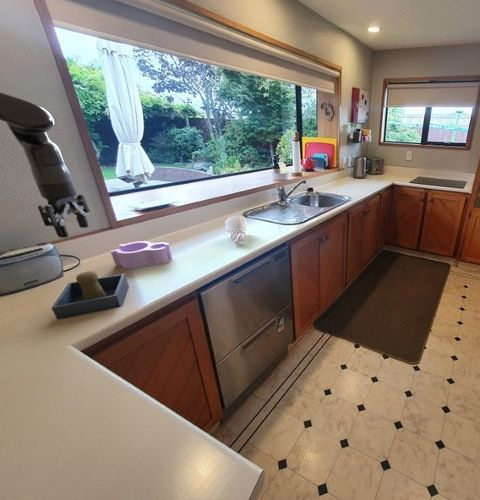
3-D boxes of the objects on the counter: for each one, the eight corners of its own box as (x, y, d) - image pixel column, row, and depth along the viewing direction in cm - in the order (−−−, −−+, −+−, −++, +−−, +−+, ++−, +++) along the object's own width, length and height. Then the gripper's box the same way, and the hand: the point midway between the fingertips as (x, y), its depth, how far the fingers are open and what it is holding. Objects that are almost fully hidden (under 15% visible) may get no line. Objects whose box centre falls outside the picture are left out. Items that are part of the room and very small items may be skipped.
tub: (58, 322, 86) (51, 308, 84) (74, 296, 98) (68, 282, 96) (121, 309, 93) (116, 295, 90) (129, 286, 105) (124, 273, 103)
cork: (85, 309, 91) (72, 280, 87) (84, 300, 95) (72, 272, 91) (108, 302, 95) (97, 274, 90) (107, 294, 99) (96, 267, 94)
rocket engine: (239, 229, 136) (235, 211, 148) (222, 244, 137) (220, 225, 149) (257, 242, 144) (252, 223, 156) (240, 256, 145) (236, 236, 157)
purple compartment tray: (175, 253, 131) (172, 240, 128) (165, 266, 120) (161, 251, 117) (127, 255, 127) (122, 241, 124) (111, 269, 116) (106, 254, 113)
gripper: (59, 175, 88) (78, 224, 94) (16, 185, 75) (41, 241, 82) (85, 176, 89) (102, 224, 95) (48, 185, 76) (70, 240, 83)
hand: (74, 232), depth 88 cm, fingers open, 8 cm apart
